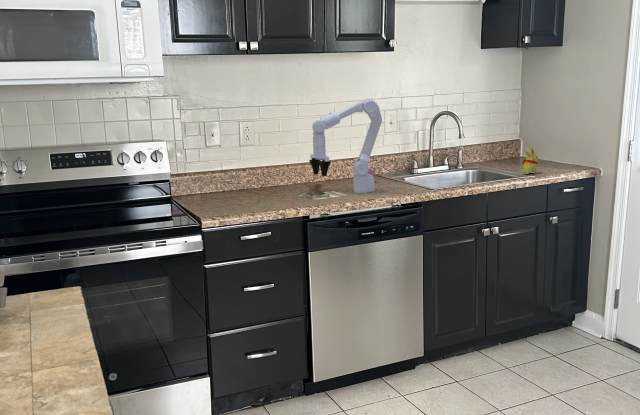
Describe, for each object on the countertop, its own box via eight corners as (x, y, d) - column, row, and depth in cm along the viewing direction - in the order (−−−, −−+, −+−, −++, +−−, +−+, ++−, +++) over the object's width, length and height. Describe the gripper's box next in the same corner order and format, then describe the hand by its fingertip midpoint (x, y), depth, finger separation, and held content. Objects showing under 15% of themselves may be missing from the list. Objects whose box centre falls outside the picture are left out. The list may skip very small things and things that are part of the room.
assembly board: (332, 193, 304) (332, 188, 303) (348, 197, 292) (347, 192, 291) (299, 197, 295) (298, 192, 295) (313, 202, 283) (313, 197, 283)
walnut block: (317, 195, 294) (317, 182, 293) (322, 196, 291) (321, 183, 289) (308, 196, 292) (308, 183, 291) (313, 197, 288) (313, 184, 287)
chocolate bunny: (540, 173, 342) (541, 145, 339) (527, 175, 336) (528, 147, 333) (530, 172, 347) (531, 144, 344) (516, 174, 342) (517, 146, 339)
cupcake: (356, 181, 333) (356, 159, 331) (371, 180, 336) (371, 157, 334) (363, 184, 326) (362, 161, 323) (378, 182, 328) (378, 159, 326)
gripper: (304, 145, 299) (305, 174, 302) (319, 148, 287) (320, 178, 290) (317, 144, 303) (318, 172, 305) (332, 147, 290) (333, 176, 293)
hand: (320, 175), depth 298 cm, fingers open, 7 cm apart
